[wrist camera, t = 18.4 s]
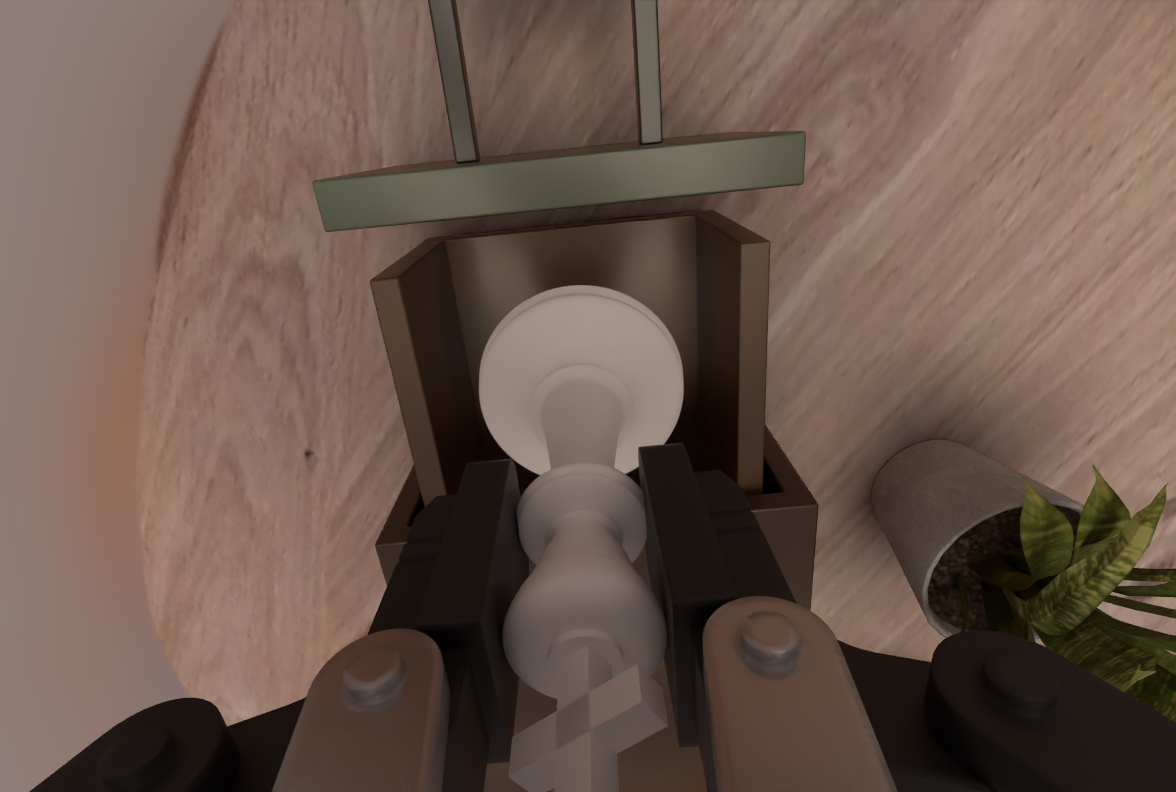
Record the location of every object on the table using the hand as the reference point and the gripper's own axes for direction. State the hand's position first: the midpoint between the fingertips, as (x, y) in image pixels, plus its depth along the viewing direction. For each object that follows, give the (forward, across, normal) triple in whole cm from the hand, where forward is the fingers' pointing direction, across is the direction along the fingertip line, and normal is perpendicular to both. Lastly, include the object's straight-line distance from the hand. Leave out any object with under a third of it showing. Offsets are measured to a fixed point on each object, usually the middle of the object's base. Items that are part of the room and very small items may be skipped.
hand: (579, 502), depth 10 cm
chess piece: (+5, 0, 0) cm, 5 cm away
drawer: (+14, 0, -1) cm, 14 cm away
